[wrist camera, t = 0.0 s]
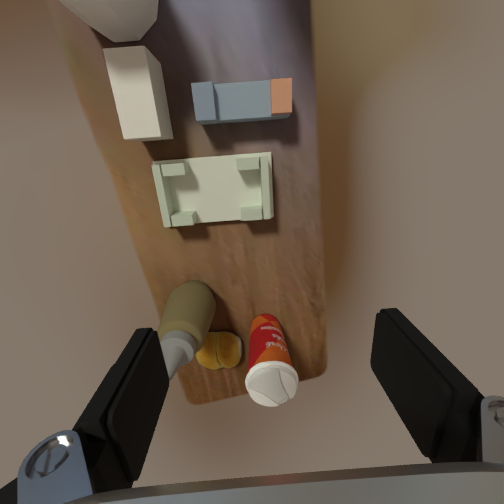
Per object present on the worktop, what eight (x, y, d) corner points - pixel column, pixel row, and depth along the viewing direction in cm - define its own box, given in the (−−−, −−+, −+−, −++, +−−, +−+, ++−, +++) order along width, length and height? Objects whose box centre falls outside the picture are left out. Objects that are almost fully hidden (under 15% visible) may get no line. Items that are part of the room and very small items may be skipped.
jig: (155, 161, 37) (144, 161, 33) (270, 152, 37) (273, 151, 33) (167, 223, 40) (159, 230, 37) (273, 215, 41) (276, 221, 37)
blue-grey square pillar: (197, 92, 34) (191, 83, 30) (285, 85, 34) (291, 75, 30) (201, 125, 36) (195, 120, 31) (286, 118, 36) (292, 113, 31)
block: (126, 66, 33) (102, 48, 27) (161, 63, 33) (144, 45, 27) (142, 141, 36) (123, 139, 31) (173, 139, 36) (160, 136, 31)
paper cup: (292, 329, 49) (310, 393, 36) (259, 348, 50) (265, 416, 37) (270, 301, 46) (280, 358, 33) (236, 321, 48) (233, 384, 35)
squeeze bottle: (221, 310, 47) (209, 398, 30) (178, 315, 47) (141, 405, 30) (214, 271, 44) (195, 344, 27) (168, 277, 44) (121, 352, 27)
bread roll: (193, 330, 48) (189, 345, 45) (240, 327, 48) (239, 341, 45) (199, 364, 51) (196, 380, 48) (243, 360, 51) (243, 376, 48)
